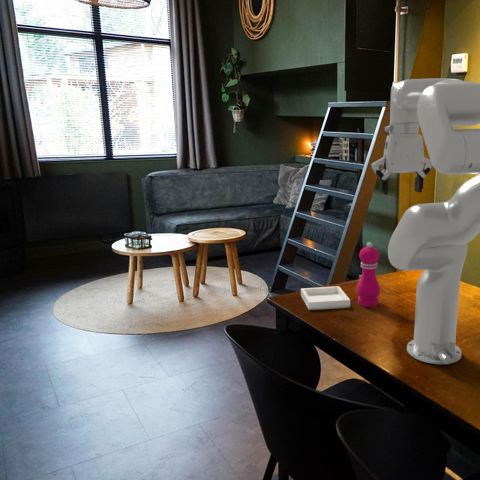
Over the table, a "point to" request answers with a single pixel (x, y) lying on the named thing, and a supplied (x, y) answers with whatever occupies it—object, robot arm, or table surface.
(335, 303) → the ceramic dish
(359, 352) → the table surface
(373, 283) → the pepper mill
